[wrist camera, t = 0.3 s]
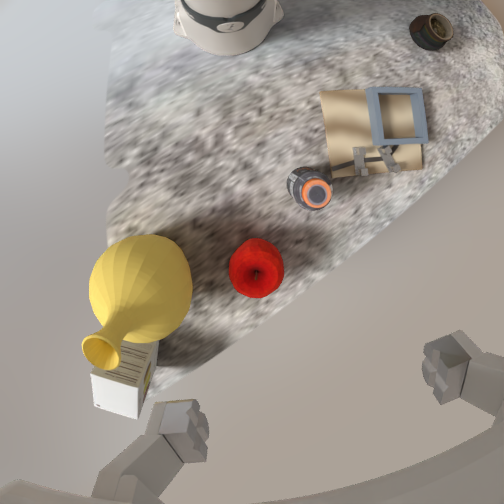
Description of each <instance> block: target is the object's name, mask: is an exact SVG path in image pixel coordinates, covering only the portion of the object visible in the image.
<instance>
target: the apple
mask: <svg viewBox="0 0 504 504" xmlns="http://www.w3.org/2000/svg"><path fill="white" fill-rule="evenodd" d="M229 277H230V280H231V282H232V284H233V286H234V288H235V289H236V290H237V291H238V292H239V293H241V294H243V295H245V296H248V297H250V298H262V297H265V296H268V295H269V294H270V293H272V292H273V291H275V290H276V289H277V288H278V287H279V286H280V284H281V283H282V280H283V278H284V266H283V260H282V257H281V254H280V252H279V251H278V249H277V248H276V247H275V246H274V245H272V244H271V243H270V242H268V241H266V240H263V239H260V238H251V239H249V240H247V241H245V242H244V243H243V244H242V245H241V246H240V247H239V248H237V249H236V251H235V252H234V253H233V255H232V256H231V259H230V262H229Z"/></svg>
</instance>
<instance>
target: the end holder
mask: <svg viewBox="0 0 504 504" xmlns="http://www.w3.org/2000/svg"><path fill="white" fill-rule="evenodd" d="M365 93H366V99H367V105H368V112H369V119H370V126H371V134H372V143H373V145H377V146H382V145H400V144H425V143H429V142H428V132H427V123H426V115H425V108H424V101H423V94H422V88H409V87H370V88H367V89H365ZM378 95H410V99H411V106H412V113H413V121H414V129H415V138H391V139H384V133H383V125H382V118H381V111H380V104H379V97H378Z"/></svg>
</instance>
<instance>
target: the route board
mask: <svg viewBox="0 0 504 504" xmlns="http://www.w3.org/2000/svg"><path fill="white" fill-rule="evenodd" d="M319 93H320V99H321V105H322V111H323V118H324V125H325V131H326V139H327V146H328V154H329V162H330V170H331V177H332V178H338V177H346V176H355V167H354V158H353V150H352V147H366V155H364V163H365V168H368V174H375V173H385V172H389V171H388V169H387V167H386V166H385V164H384V162H383V159H382V157H381V156H380V154H379V152H378V150H377V148H379V147H381V146H377V145H373V143H372V134H371V126H370V119H369V112H368V105H367V99H366V93H365V89H361V90H334V91H320V92H319ZM378 97H379V104H380V111H381V118H382V125H383V133H384V139H391V138H415V129H414V121H413V113H412V106H411V99H410V95H378ZM388 146H390V148H391V150H392V152H391V153H390V154H391V156H392V158H393V160H394V162H395V163H398V164H399V166H400V168H401V170H400V171H408V170H421V169H422V156H421V144H400V145H388Z"/></svg>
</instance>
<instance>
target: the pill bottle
mask: <svg viewBox="0 0 504 504" xmlns="http://www.w3.org/2000/svg"><path fill="white" fill-rule="evenodd" d="M287 189H288V192H289V193H290V195H291V196H292V197H293V198H294V200H295V201H296V202H297V203H298V204H299V205H300V206H301V207H302V208H304V209H307V210H311V211H315V210H320V209H322V208H324V207H325V206H326V205H327V204H328V203H329V202H330V200H331V198H332V194H333V187H332V183H331V181H330V180H329V178H328V177H327V176H326V175H325V174H323V173H321V172H319V171H316V170H314V169H311V168H309V167H300V168H297V169H295V170H294V171H292V172H291V173H290V175H289V177H288V179H287Z"/></svg>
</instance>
